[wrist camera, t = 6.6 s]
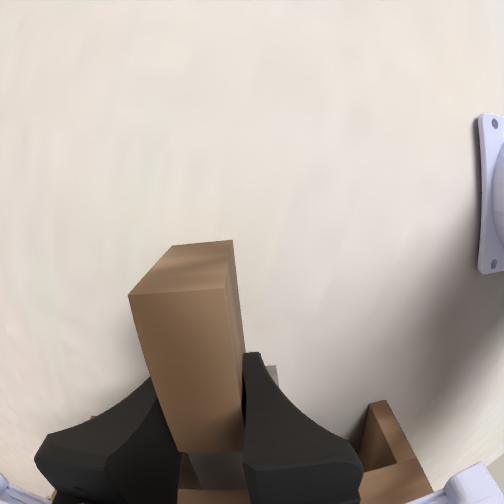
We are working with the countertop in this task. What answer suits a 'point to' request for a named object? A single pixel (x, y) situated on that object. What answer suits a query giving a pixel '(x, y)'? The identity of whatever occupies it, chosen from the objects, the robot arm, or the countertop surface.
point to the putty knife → (197, 356)
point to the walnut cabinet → (372, 458)
